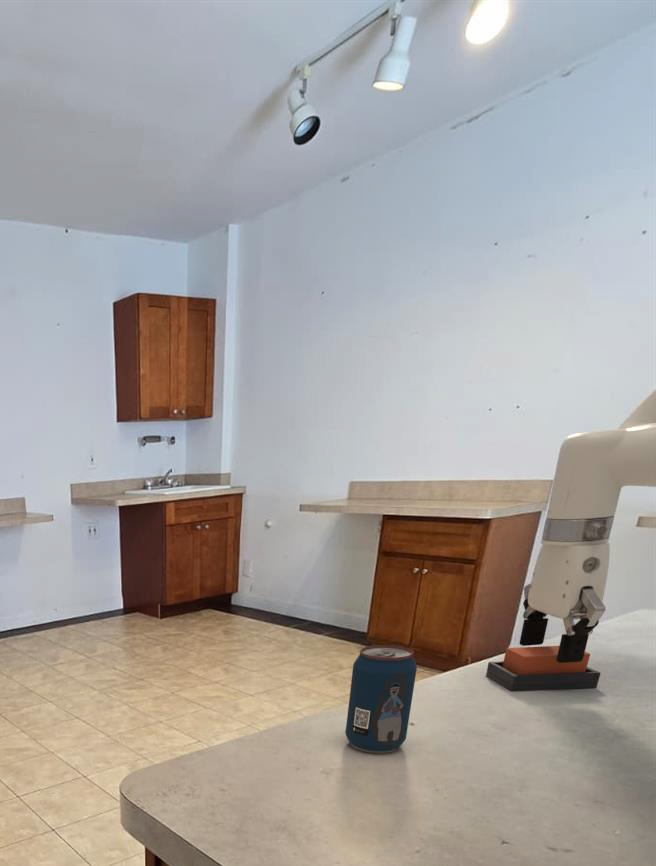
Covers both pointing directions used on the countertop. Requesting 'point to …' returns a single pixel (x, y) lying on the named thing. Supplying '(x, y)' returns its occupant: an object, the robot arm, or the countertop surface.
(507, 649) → the red brick
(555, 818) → the countertop surface
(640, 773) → the countertop surface
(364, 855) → the countertop surface
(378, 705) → the soda can
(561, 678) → the black rectangular tray
